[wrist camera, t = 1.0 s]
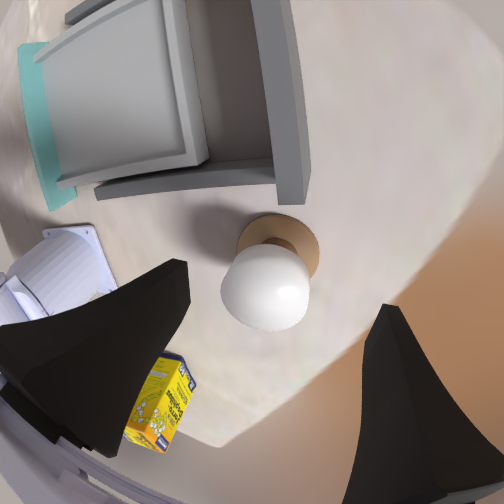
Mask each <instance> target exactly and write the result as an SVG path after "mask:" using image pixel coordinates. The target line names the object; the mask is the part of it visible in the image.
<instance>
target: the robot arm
mask: <svg viewBox="0 0 504 504" xmlns="http://www.w3.org/2000/svg"><path fill="white" fill-rule="evenodd" d="M42 234H43V236H44V240H42V241H41V242H40V243H38V244H37V245H36V246H35V247H33V248H32V249H31V250H29V251H28V252H27V253H26V254H24V255H23V256H22V257H21V258H19V259H18V260H17V261H16V262H14V263H13V264H12V266H11V267H10V268H9V270H8V272H7V275H5V274H4V272H1V273H0V372H1V374H0V473H1V475H2V476H3V478H4V479H5V480H6V481H7V483H8V484H9V486H10V487H11V488H12V489H13V491H14V492H15V493H16V494H17V496H18V497H19V498H20V499H21V500H22V502H23V503H24V504H128V503H127V502H125V501H123V500H121V499H120V498H118V497H116V496H114V495H113V494H111V493H109V492H108V491H106V490H104V489H102V488H100V487H98V486H97V485H95V484H93V483H91V482H90V481H89V480H88V475H87V474H89V475H90V476H92V477H94V478H95V479H97V480H99V481H100V482H102V483H103V484H105V485H107V486H108V487H110V488H112V489H114V490H116V491H117V492H119V493H121V494H123V495H125V496H127V497H128V498H130V499H132V500H134V501H137V502H138V503H141V504H187V503H184V502H181V501H179V500H176V499H174V498H171V497H168V496H166V495H164V494H162V493H159V492H157V491H155V490H153V489H150V488H148V487H146V486H144V485H142V484H140V483H138V482H136V481H134V480H132V479H130V478H128V477H126V476H124V475H122V474H120V473H119V472H117V471H115V470H113V469H111V468H110V467H108V466H106V465H105V464H103V463H101V462H99V461H98V460H96V459H95V458H93V457H91V456H90V455H88V454H87V453H85V452H84V451H82V450H81V449H82V447H85V448H86V449H88V450H89V451H92V450H93V449H94V450H95V451H97V452H99V453H100V454H102V455H104V456H105V457H107V458H112V457H115V456H117V452H118V449H119V446H120V443H121V439H122V436H123V433H124V430H125V428H126V425H127V422H128V420H129V417H130V414H131V412H132V409H133V407H134V405H135V403H136V400H137V398H138V396H139V393H140V391H141V389H142V387H143V385H144V383H145V381H146V379H147V377H148V375H149V373H150V371H151V369H152V368H153V366H154V364H155V363H156V361H157V360H158V358H159V357H160V355H161V354H162V352H163V351H164V349H165V348H166V346H167V344H168V343H169V341H170V340H171V338H172V337H173V335H174V334H175V332H176V331H177V329H178V327H179V326H180V324H181V322H182V320H183V318H184V316H185V314H186V312H187V310H188V307H189V305H190V303H191V299H190V289H189V278H188V266H187V262H186V261H182V260H178V259H174V258H173V259H171V260H169V261H167V262H165V263H163V264H161V265H159V266H157V267H156V268H154V269H152V270H150V271H149V272H147V273H145V274H143V275H142V276H140V277H138V278H136V279H134V280H133V281H131V282H129V283H127V284H125V285H123V286H121V287H119V288H118V287H117V284H116V282H115V280H114V277H113V275H112V272H111V270H110V268H109V265H108V263H107V260H106V258H105V255H104V252H103V250H102V247H101V244H100V242H99V239H98V236H97V233H96V231H95V228H94V227H93V226H92V225H84V226H73V227H62V228H51V229H44V230H43V231H42ZM96 292H100V293H107V294H106V295H104V296H102V297H100V298H97V299H95V300H93V301H91V302H88V301H89V300H90V299H91V298H92V296H93V295H94V294H95V293H96ZM87 302H88V303H87ZM503 487H504V455H503V454H502V453H501V452H500V451H499V450H497V448H496V447H494V446H493V445H492V444H491V443H490V442H489V441H488V440H487V439H486V438H485V437H484V436H483V435H482V434H481V432H480V431H479V430H478V429H477V428H476V427H475V426H474V425H473V424H472V422H471V421H470V420H469V419H468V418H467V416H466V415H465V414H464V413H463V411H462V410H461V409H460V408H459V406H458V405H457V404H456V402H455V401H454V400H453V398H452V397H451V395H450V394H449V392H448V391H447V389H446V388H445V387H444V385H443V384H442V382H441V380H440V379H439V377H438V376H437V374H436V373H435V371H434V369H433V367H432V366H431V364H430V363H429V361H428V359H427V357H426V356H425V354H424V352H423V350H422V348H421V347H420V345H419V343H418V341H417V339H416V338H415V336H414V334H413V332H412V330H411V328H410V326H409V325H408V323H407V321H406V319H405V317H404V315H403V314H402V312H401V310H400V308H399V307H398V306H394V305H388V304H382V307H381V309H380V311H379V313H378V316H377V318H376V320H375V322H374V324H373V326H372V328H371V330H370V332H369V334H368V337H367V339H366V341H365V347H364V355H363V364H362V415H361V428H360V435H359V440H358V446H357V451H356V455H355V460H354V464H353V469H352V472H351V476H350V480H349V483H348V486H347V490H346V493H345V496H344V499H343V502H342V504H475V501H477V500H479V499H482V498H484V497H486V496H488V495H490V494H492V493H494V492H496V491H498V490H500V489H502V488H503Z"/></svg>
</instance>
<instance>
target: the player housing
mask: <svg viewBox="0 0 504 504" xmlns="http://www.w3.org/2000/svg"><path fill="white" fill-rule="evenodd" d="M114 1H116V0H85V1H84V2H82V3H81V4H79V5H78V6H76V7H75V8H73V9H72V10H70V11H69V12H68V13H66V14H65V24H68V25H75V24H77V23H78V22H80V21H81V20H83V19H84V18H86V17H88V16H89V15H91V14H93V13H94V12H96V11H98V10H99V9H101V8H103V7H105V6H106V5H108V4H110V3H112V2H114ZM251 6H252V12H253V18H254V24H255V30H256V36H257V43H258V49H259V56H260V63H261V69H262V76H263V83H264V91H265V98H266V105H267V113H268V121H269V128H270V136H271V145H272V153H273V157H271V158H257V159H244V160H233V161H223V162H214V163H205V164H199V165H195V166H187V167H180V168H173V169H166V170H159V171H153V172H147V173H141V174H135V175H129V176H124V177H119V178H113V179H110V180H108V181H107V182H105V183H103V184H101V185H99V186H98V187H96V188H94V192H95V195H96V199H97V201H99V200H105V199H112V198H119V197H127V196H135V195H143V194H151V193H160V192H169V191H178V190H189V189H200V188H212V187H225V186H239V185H256V184H276V188H277V197H278V205H303V204H305V200H306V195H307V190H308V185H309V180H310V174H311V162H310V149H309V138H308V127H307V117H306V108H305V99H304V91H303V83H302V75H301V67H300V60H299V53H298V47H297V40H296V34H295V28H294V22H293V16H292V11H291V5H290V0H251Z"/></svg>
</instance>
